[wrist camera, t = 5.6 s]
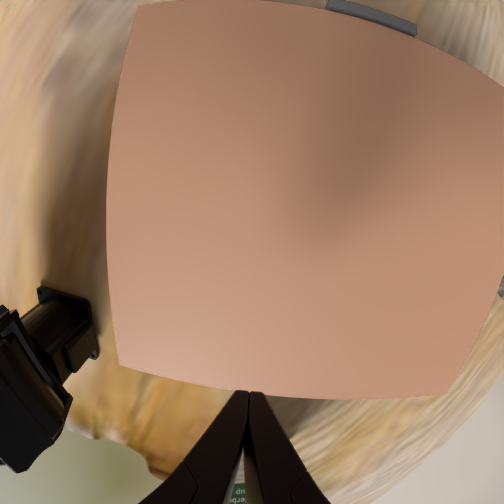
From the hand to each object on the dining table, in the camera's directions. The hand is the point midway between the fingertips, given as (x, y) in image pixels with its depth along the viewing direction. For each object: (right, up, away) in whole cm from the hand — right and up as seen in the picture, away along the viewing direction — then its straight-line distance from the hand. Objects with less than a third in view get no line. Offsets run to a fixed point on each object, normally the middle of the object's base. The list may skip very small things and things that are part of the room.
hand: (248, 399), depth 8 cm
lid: (+4, +6, +4) cm, 9 cm away
